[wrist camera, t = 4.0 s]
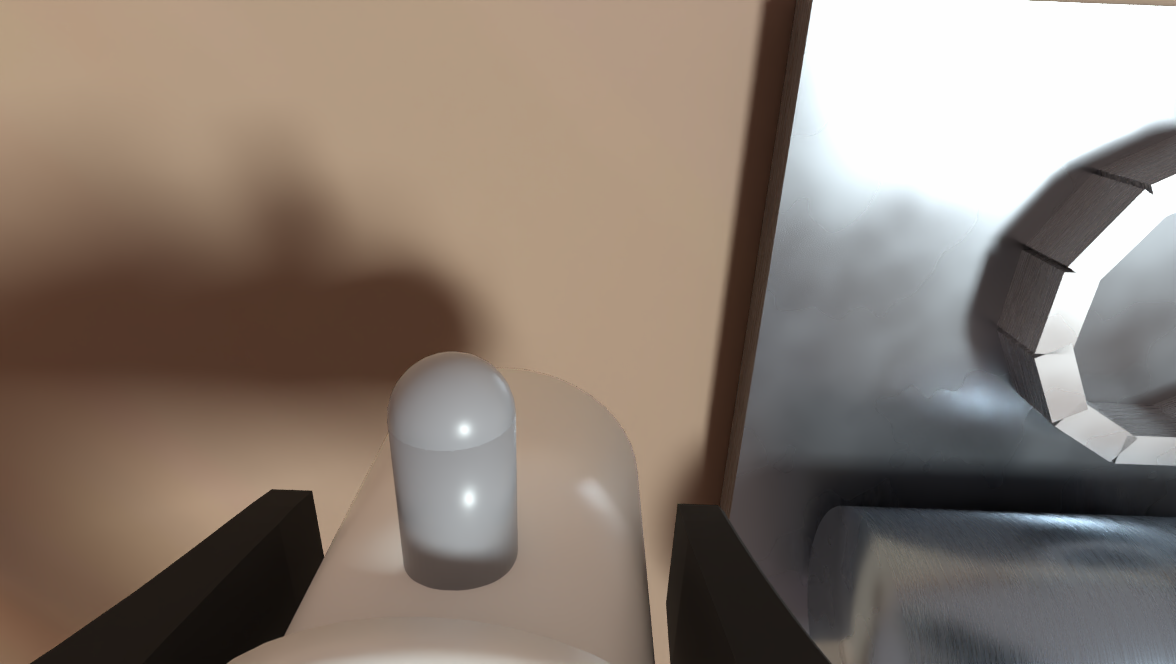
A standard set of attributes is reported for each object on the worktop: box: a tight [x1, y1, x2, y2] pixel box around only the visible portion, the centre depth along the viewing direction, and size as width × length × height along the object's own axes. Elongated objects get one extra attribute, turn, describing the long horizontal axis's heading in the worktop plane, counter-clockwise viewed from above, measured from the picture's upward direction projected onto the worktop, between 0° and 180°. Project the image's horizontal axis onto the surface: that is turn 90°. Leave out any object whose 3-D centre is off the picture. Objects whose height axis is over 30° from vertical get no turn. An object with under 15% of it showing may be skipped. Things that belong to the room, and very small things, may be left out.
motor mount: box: [720, 0, 1176, 664], centre depth 15 cm, size 18×17×7 cm
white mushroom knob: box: [227, 351, 655, 664], centre depth 8 cm, size 7×6×6 cm
